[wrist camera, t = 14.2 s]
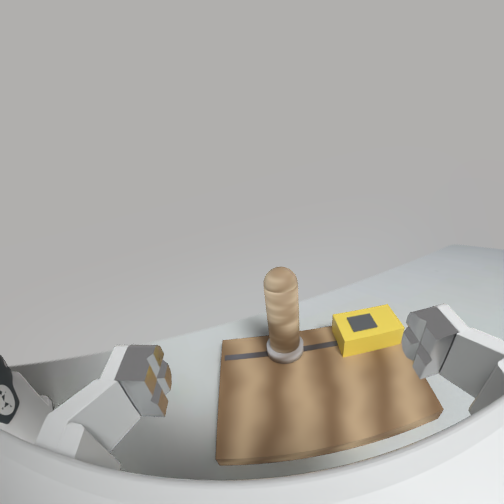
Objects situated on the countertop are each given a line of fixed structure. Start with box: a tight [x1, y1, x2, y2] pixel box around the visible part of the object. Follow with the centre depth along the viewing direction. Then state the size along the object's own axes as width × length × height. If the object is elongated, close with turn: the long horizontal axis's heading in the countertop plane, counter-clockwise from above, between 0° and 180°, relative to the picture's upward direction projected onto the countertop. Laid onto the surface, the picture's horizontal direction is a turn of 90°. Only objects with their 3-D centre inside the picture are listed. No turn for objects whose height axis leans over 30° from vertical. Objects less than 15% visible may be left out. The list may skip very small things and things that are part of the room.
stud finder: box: [332, 304, 404, 357], centre depth 36 cm, size 9×6×3 cm, turn 92°
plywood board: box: [216, 326, 444, 465], centre depth 32 cm, size 26×20×2 cm
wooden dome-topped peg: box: [264, 267, 303, 364], centre depth 35 cm, size 5×5×13 cm
